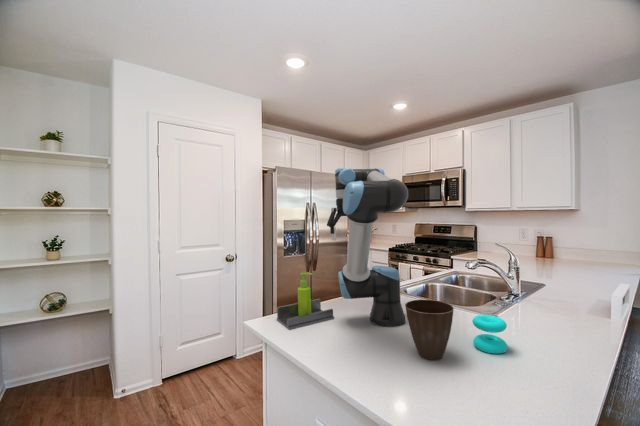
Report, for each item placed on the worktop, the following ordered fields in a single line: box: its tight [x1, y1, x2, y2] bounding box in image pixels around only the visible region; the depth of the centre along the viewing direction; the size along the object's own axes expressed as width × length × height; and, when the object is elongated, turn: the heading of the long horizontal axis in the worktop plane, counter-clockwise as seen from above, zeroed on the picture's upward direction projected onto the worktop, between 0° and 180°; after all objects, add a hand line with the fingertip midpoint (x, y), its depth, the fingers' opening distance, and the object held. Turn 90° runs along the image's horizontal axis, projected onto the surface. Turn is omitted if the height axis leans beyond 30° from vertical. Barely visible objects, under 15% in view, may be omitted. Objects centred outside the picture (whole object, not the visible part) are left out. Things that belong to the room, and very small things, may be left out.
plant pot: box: [404, 299, 455, 361], centre depth 97 cm, size 15×15×16 cm
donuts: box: [471, 314, 508, 355], centre depth 100 cm, size 10×10×10 cm
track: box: [276, 298, 335, 331], centre depth 133 cm, size 14×22×6 cm, turn 120°
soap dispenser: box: [297, 272, 313, 316], centre depth 133 cm, size 6×7×20 cm
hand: (344, 239), depth 153 cm, fingers open, 13 cm apart
